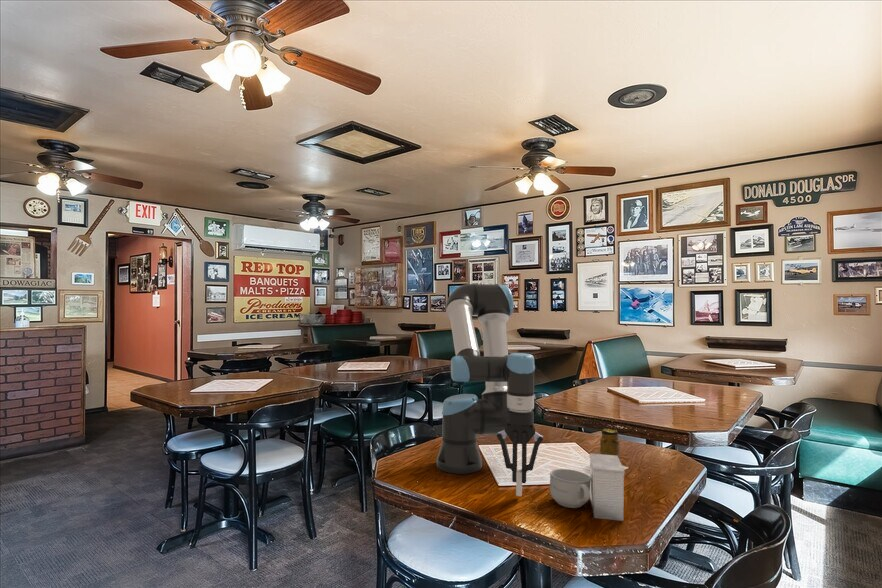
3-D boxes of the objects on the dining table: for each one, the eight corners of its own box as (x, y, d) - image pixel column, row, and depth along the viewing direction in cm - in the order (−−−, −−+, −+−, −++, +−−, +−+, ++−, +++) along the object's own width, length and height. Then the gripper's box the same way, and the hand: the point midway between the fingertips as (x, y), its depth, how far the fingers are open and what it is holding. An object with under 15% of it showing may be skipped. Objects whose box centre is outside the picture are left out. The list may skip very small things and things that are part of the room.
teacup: (544, 495, 131) (544, 467, 132) (581, 494, 132) (581, 466, 133) (561, 518, 118) (561, 486, 118) (602, 517, 118) (602, 485, 119)
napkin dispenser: (593, 518, 118) (593, 468, 118) (589, 498, 130) (589, 453, 130) (624, 521, 116) (624, 471, 117) (617, 501, 128) (617, 455, 129)
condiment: (606, 461, 162) (606, 426, 162) (629, 468, 155) (629, 432, 155) (594, 465, 157) (594, 430, 157) (617, 473, 150) (617, 435, 151)
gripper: (495, 410, 127) (494, 497, 127) (544, 414, 124) (542, 502, 124) (498, 404, 134) (496, 486, 134) (544, 407, 131) (543, 491, 131)
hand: (519, 493), depth 129 cm, fingers closed
